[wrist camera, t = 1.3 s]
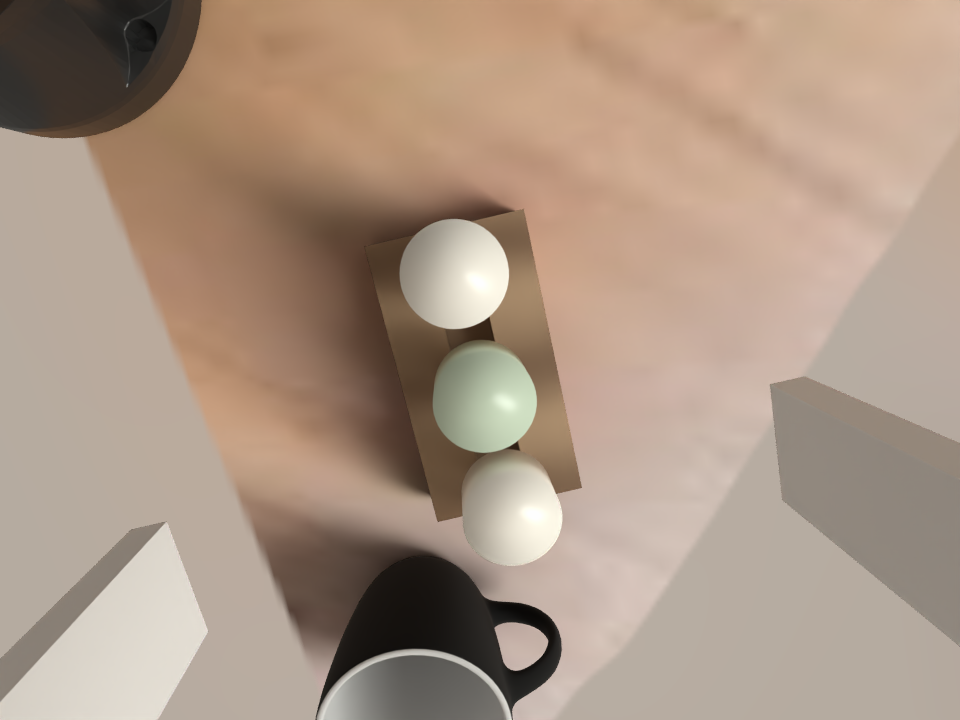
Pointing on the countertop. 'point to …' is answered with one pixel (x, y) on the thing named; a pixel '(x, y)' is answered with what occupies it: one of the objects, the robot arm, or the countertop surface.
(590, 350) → the countertop surface
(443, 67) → the countertop surface
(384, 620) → the mug
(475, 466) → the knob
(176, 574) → the robot arm
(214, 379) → the countertop surface
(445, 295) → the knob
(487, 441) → the knob mid
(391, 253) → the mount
